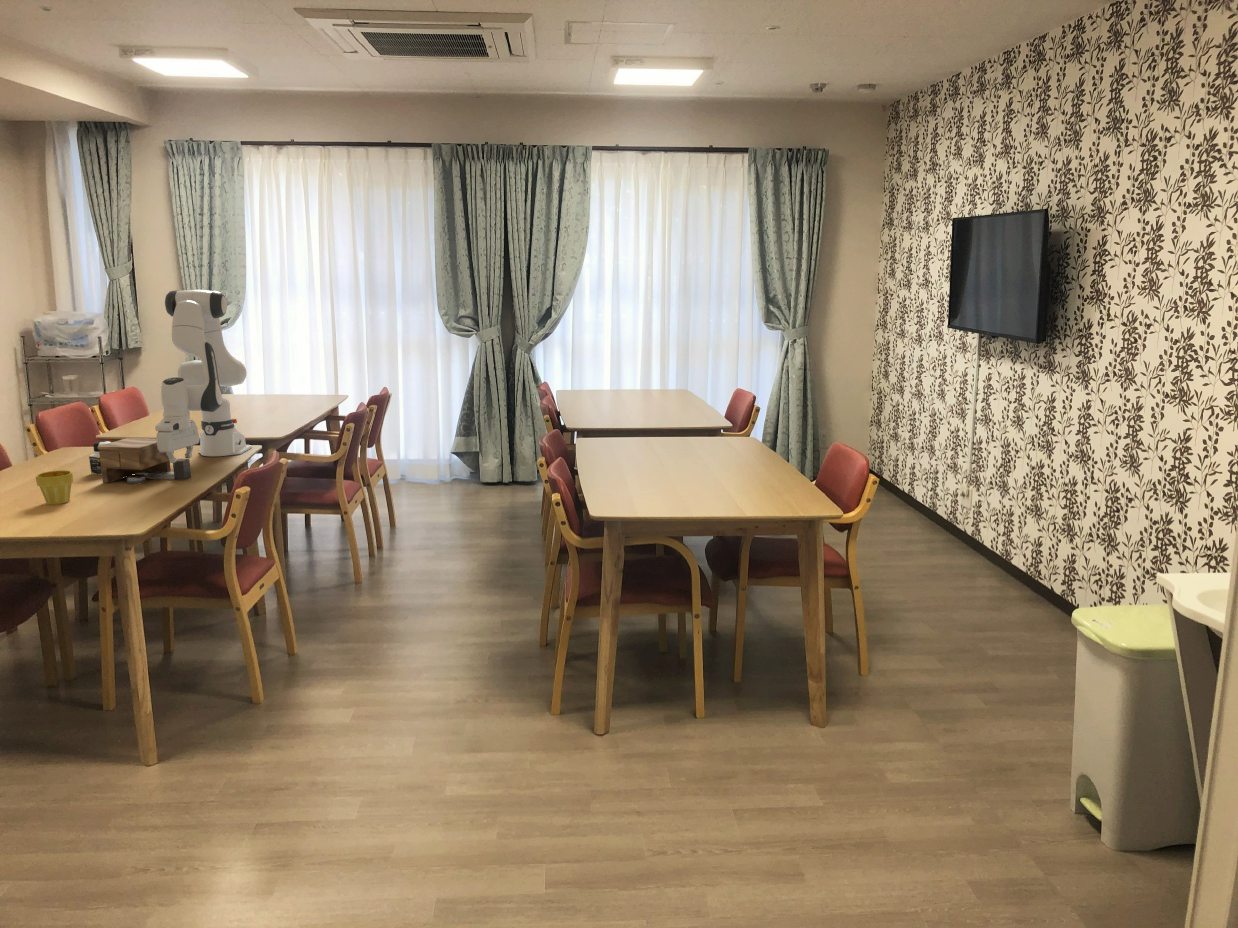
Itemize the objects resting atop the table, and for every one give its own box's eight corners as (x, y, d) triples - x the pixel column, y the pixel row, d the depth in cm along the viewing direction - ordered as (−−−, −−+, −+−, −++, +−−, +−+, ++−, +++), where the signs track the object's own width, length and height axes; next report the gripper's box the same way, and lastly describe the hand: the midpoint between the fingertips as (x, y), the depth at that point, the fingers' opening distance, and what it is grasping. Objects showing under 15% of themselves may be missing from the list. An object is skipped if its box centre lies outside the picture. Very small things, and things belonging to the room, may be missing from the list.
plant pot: (40, 507, 294) (36, 478, 292) (38, 501, 302) (34, 472, 300) (77, 503, 300) (74, 474, 298) (74, 496, 308) (70, 468, 306)
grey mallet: (142, 475, 339) (140, 457, 338) (191, 477, 337) (189, 459, 335) (135, 478, 336) (133, 459, 334) (184, 479, 333) (182, 461, 331)
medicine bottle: (90, 473, 342) (86, 442, 339) (108, 470, 348) (104, 439, 346) (103, 475, 339) (99, 444, 336) (121, 471, 345) (117, 440, 343)
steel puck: (134, 480, 333) (133, 473, 332) (149, 481, 332) (148, 474, 331) (123, 484, 327) (122, 477, 326) (138, 485, 326) (137, 478, 325)
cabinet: (132, 472, 344) (128, 437, 341) (172, 474, 341) (168, 439, 338) (101, 483, 327) (97, 446, 325) (143, 484, 325) (139, 447, 322)
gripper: (186, 418, 341) (189, 454, 344) (151, 427, 321) (155, 465, 324) (202, 419, 340) (205, 455, 343) (168, 427, 320) (172, 465, 323)
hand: (181, 460), depth 333 cm, fingers open, 8 cm apart
